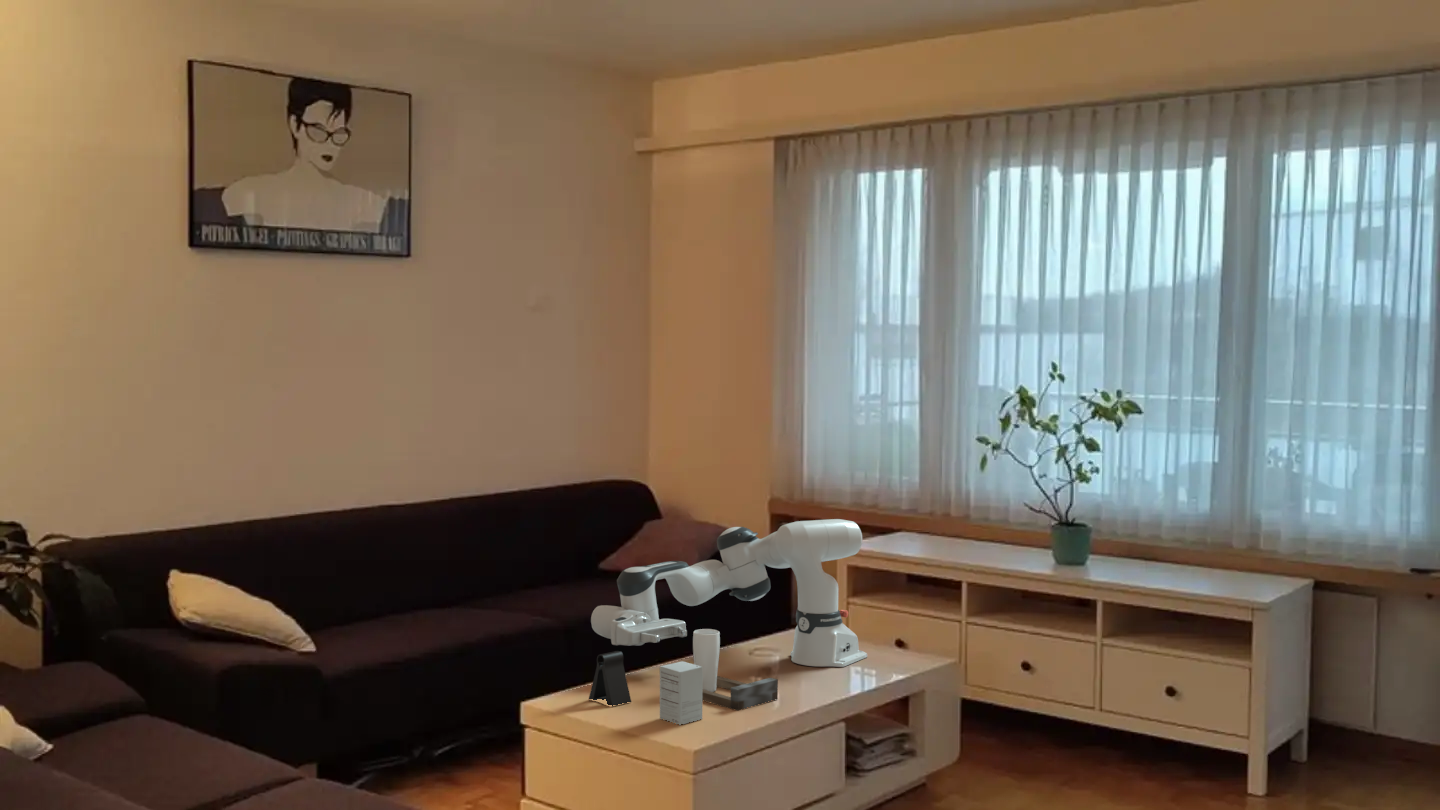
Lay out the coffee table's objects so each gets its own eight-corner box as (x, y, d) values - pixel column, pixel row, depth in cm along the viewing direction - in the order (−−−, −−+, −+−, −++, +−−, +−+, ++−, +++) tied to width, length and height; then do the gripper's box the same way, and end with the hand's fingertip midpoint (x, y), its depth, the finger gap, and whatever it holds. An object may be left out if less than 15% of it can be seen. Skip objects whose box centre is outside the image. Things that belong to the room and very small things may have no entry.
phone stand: (588, 700, 332) (588, 651, 331) (607, 695, 336) (607, 647, 335) (612, 707, 325) (612, 658, 325) (631, 703, 330) (631, 654, 329)
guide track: (714, 682, 349) (714, 663, 349) (777, 699, 334) (777, 679, 333) (674, 692, 339) (674, 672, 339) (737, 710, 324) (738, 689, 324)
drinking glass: (716, 695, 337) (716, 635, 337) (689, 693, 339) (690, 633, 338) (721, 688, 344) (722, 629, 343) (695, 686, 345) (696, 628, 345)
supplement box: (682, 713, 321) (682, 660, 321) (703, 719, 316) (703, 666, 315) (658, 719, 316) (658, 665, 316) (679, 726, 311) (679, 671, 310)
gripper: (665, 634, 367) (700, 642, 357) (606, 645, 352) (642, 654, 342) (665, 611, 366) (700, 618, 356) (607, 621, 352) (642, 629, 342)
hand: (671, 636), depth 349 cm, fingers open, 8 cm apart
